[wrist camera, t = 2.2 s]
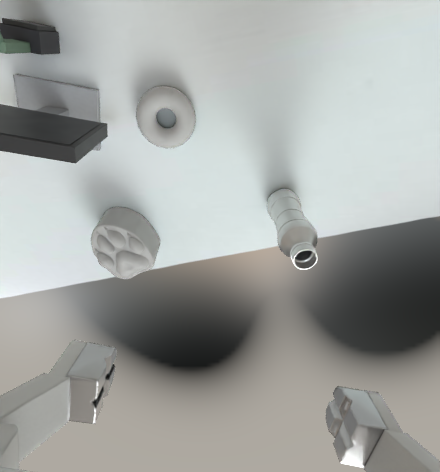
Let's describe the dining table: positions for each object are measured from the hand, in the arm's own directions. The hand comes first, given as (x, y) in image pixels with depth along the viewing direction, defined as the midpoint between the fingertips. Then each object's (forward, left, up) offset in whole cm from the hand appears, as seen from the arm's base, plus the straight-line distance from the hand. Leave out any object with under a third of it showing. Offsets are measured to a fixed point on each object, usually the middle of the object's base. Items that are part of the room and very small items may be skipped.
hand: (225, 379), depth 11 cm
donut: (+2, -9, -50) cm, 50 cm away
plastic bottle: (+14, +15, -50) cm, 54 cm away
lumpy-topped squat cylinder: (+27, -15, -50) cm, 58 cm away
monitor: (+4, -27, -49) cm, 56 cm away
